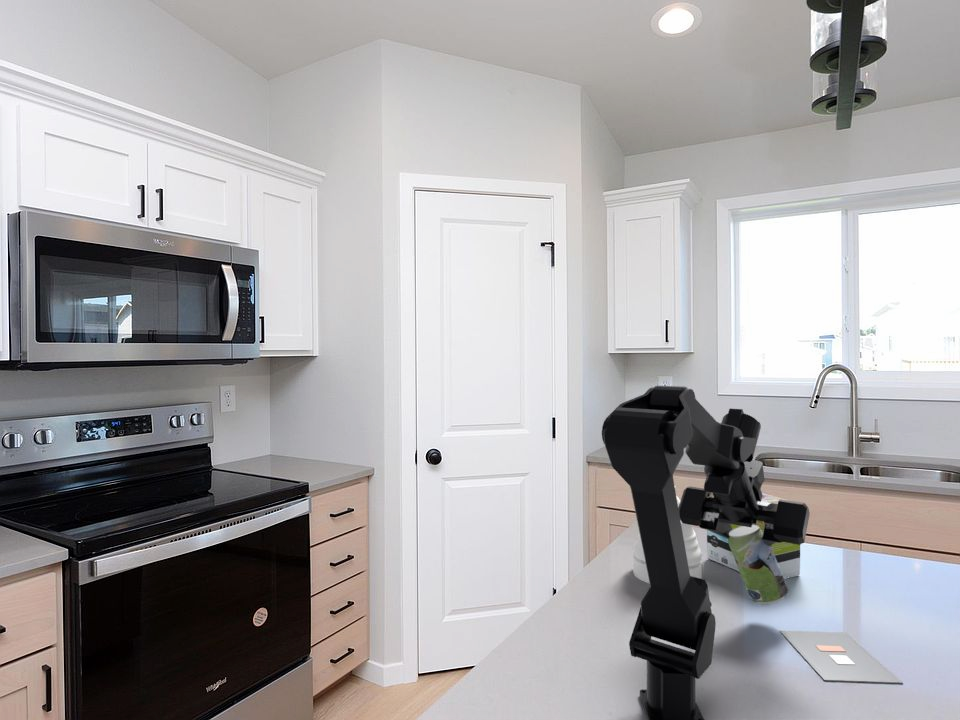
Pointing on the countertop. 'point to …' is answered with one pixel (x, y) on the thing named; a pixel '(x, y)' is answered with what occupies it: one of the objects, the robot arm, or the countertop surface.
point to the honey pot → (690, 546)
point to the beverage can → (757, 565)
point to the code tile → (839, 657)
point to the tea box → (783, 551)
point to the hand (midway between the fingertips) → (750, 541)
